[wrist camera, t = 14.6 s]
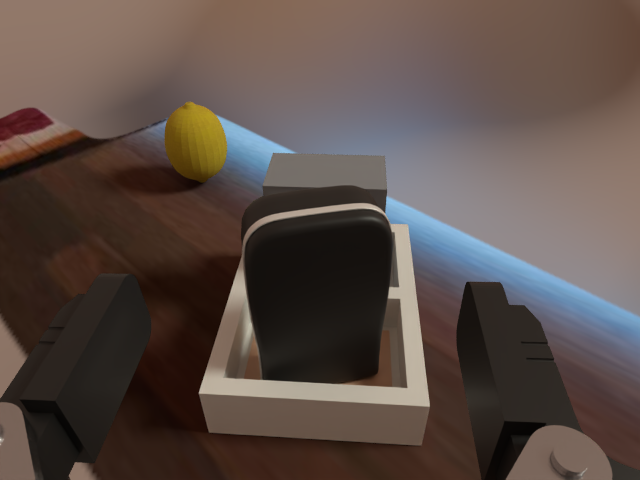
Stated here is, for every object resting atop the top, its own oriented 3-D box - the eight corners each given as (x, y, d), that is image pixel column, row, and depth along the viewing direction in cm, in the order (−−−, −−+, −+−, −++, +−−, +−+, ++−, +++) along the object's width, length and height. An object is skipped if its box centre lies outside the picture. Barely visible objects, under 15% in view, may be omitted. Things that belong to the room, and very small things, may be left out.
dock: (403, 261, 38) (417, 143, 32) (421, 445, 26) (450, 311, 20) (257, 255, 39) (244, 138, 33) (208, 432, 27) (174, 299, 21)
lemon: (216, 162, 51) (205, 86, 46) (241, 185, 47) (231, 105, 42) (165, 178, 48) (147, 99, 44) (186, 203, 45) (169, 120, 40)
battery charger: (364, 328, 31) (375, 168, 24) (383, 377, 28) (402, 210, 21) (253, 348, 30) (230, 185, 23) (261, 401, 27) (238, 233, 20)
